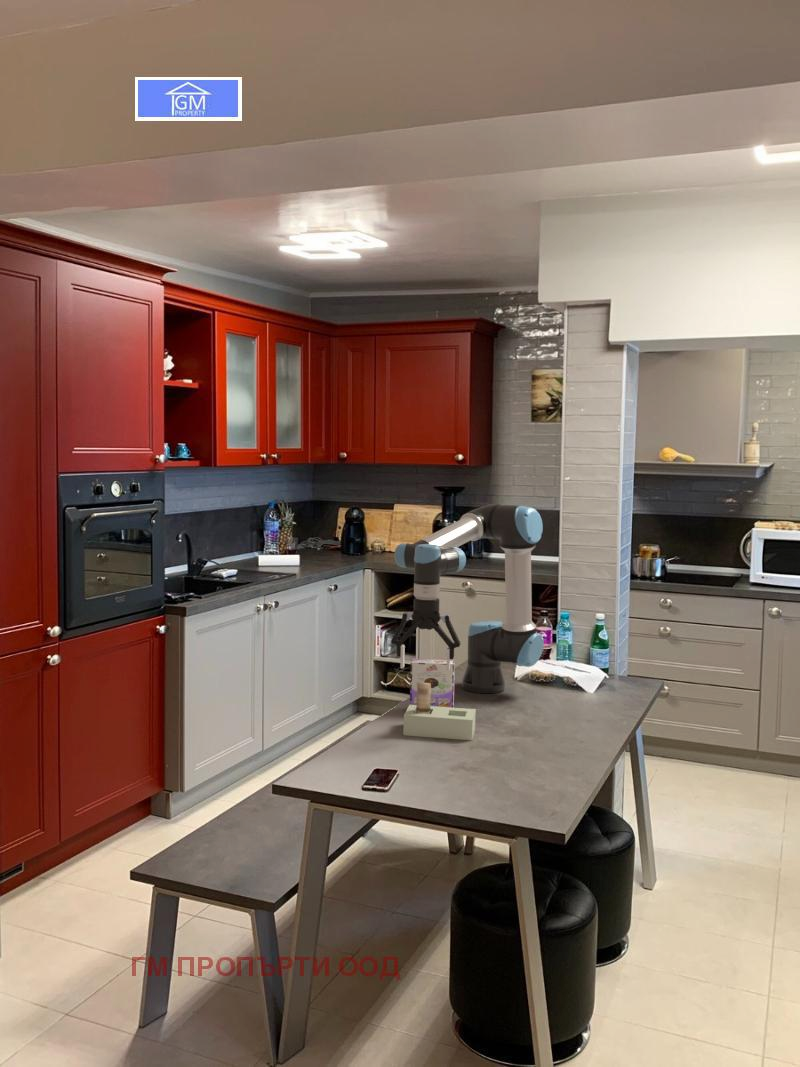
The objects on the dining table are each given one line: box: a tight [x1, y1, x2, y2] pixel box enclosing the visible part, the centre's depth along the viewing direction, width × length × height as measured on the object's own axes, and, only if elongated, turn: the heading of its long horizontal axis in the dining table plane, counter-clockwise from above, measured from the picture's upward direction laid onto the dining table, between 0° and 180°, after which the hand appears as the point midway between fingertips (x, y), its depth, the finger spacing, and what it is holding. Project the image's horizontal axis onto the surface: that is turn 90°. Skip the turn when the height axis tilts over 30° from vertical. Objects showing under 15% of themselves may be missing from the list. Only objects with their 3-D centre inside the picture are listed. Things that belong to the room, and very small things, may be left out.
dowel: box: [416, 683, 431, 714], centre depth 281 cm, size 4×4×14 cm
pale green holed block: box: [402, 704, 477, 741], centre depth 281 cm, size 11×20×6 cm, turn 81°
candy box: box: [409, 658, 455, 708], centre depth 300 cm, size 14×6×16 cm, turn 84°
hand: (425, 668), depth 280 cm, fingers open, 13 cm apart
